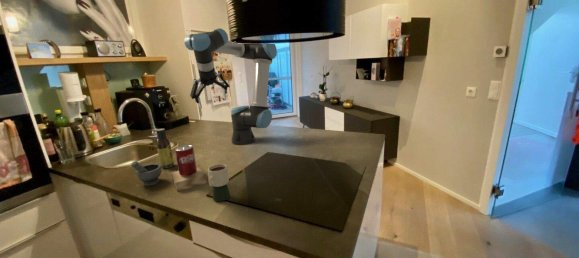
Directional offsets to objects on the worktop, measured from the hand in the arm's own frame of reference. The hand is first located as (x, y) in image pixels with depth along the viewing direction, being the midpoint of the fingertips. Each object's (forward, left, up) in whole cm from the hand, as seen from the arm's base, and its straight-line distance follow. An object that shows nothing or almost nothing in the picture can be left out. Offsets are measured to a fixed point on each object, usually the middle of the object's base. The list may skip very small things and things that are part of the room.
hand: (212, 102), depth 127 cm
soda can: (+21, +23, -26) cm, 41 cm away
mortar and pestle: (+36, +13, -30) cm, 49 cm away
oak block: (+21, +23, -30) cm, 43 cm away
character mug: (+13, +46, -30) cm, 56 cm away
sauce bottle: (+27, -2, -30) cm, 40 cm away
